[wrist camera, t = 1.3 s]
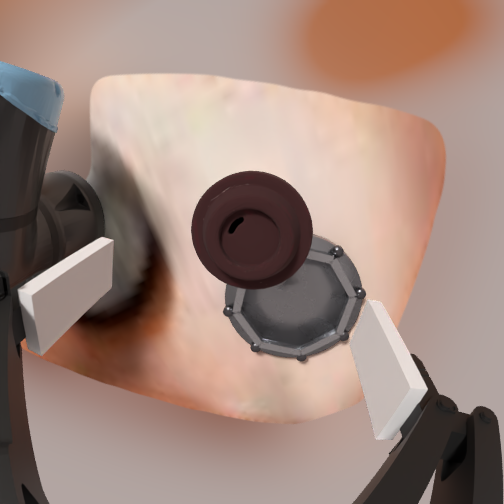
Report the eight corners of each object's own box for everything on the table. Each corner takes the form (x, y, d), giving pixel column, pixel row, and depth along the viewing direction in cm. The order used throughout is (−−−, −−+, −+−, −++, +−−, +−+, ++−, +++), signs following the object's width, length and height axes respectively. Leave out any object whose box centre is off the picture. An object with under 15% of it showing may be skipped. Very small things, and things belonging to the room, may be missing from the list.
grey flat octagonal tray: (216, 337, 45) (213, 345, 43) (241, 217, 39) (239, 221, 37) (335, 361, 45) (336, 370, 43) (378, 250, 39) (383, 256, 37)
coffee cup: (310, 233, 39) (326, 283, 25) (233, 252, 40) (209, 309, 26) (289, 154, 36) (296, 158, 22) (210, 177, 38) (168, 195, 23)
